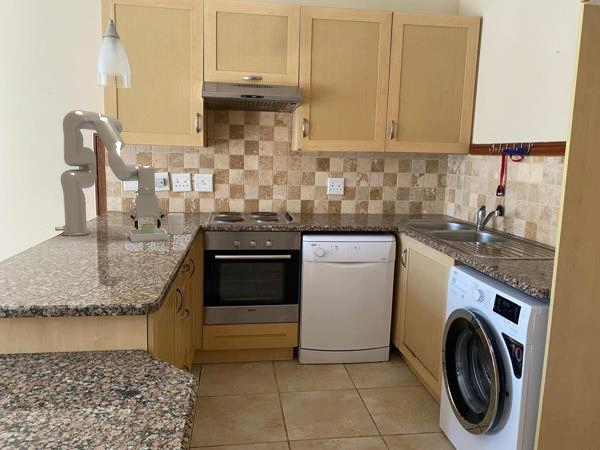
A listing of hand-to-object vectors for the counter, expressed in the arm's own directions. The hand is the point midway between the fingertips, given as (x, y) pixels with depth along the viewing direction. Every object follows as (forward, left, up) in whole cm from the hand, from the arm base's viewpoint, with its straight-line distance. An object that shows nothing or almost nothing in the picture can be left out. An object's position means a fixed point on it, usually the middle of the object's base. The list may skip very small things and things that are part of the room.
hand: (147, 228), depth 227 cm
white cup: (+15, +11, -5) cm, 19 cm away
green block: (0, 0, -4) cm, 4 cm away
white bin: (0, 0, -5) cm, 5 cm away
